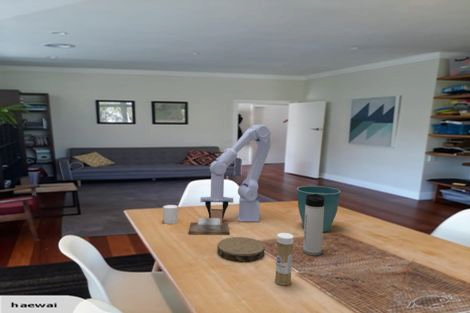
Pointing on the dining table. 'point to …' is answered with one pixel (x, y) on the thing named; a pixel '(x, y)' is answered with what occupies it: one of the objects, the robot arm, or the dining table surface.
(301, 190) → the flower pot
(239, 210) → the robot arm
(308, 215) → the travel mug
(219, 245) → the wood slice coaster
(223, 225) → the walnut base
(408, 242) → the dining table surface
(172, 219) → the grey cup
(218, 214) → the terracotta block
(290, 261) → the sprinkles bottle
